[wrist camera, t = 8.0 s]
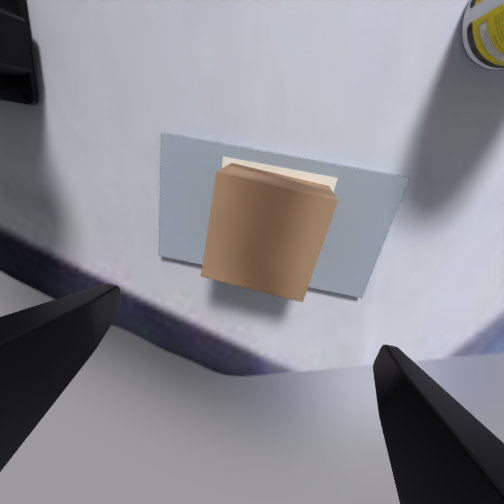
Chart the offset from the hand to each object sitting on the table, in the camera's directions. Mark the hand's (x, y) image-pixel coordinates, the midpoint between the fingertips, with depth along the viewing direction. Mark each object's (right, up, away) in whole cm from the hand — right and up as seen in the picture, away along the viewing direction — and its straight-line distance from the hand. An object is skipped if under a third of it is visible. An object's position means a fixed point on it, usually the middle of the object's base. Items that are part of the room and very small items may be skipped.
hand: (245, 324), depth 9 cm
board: (+2, +5, +11) cm, 12 cm away
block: (+1, +5, +10) cm, 11 cm away
